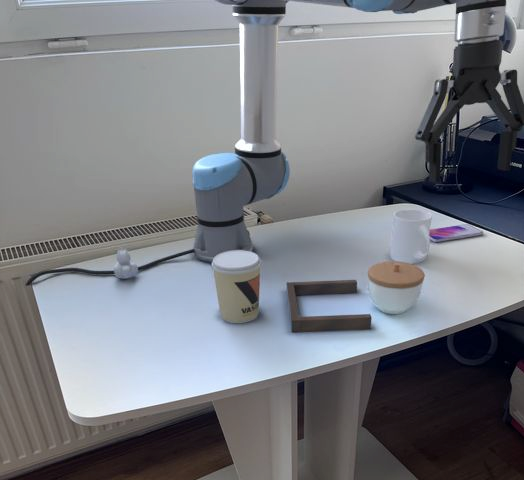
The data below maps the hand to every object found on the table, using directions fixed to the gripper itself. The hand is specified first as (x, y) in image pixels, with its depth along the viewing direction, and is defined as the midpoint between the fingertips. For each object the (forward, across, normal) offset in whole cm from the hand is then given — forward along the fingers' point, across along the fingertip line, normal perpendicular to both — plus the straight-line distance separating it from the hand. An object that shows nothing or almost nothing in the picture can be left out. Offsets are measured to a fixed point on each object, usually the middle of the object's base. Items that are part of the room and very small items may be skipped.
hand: (469, 175), depth 94 cm
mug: (+23, -1, +22) cm, 31 cm away
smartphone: (+23, +16, +35) cm, 45 cm away
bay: (+23, -28, +2) cm, 36 cm away
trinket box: (+24, -15, 0) cm, 28 cm away
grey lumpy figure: (+18, -69, +29) cm, 76 cm away
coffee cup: (+22, -45, +5) cm, 50 cm away
